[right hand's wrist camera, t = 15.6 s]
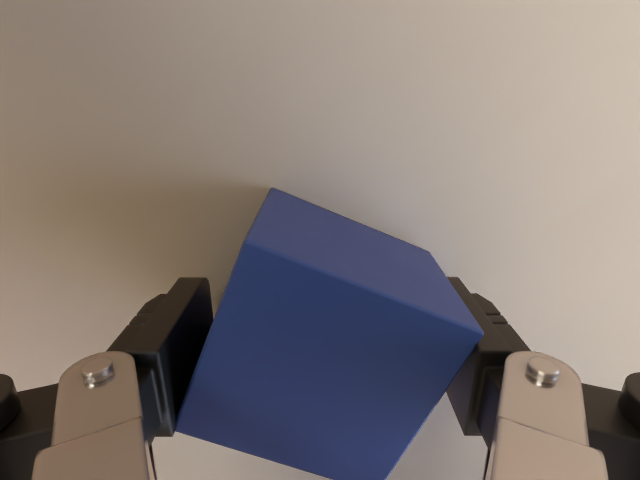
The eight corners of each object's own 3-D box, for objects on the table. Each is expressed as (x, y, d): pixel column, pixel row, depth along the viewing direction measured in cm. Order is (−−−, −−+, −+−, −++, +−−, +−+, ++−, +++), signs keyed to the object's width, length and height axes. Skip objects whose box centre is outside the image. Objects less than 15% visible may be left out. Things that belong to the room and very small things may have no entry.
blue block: (360, 374, 13) (377, 494, 9) (217, 324, 13) (171, 431, 9) (430, 251, 12) (487, 333, 8) (271, 186, 11) (243, 239, 7)
